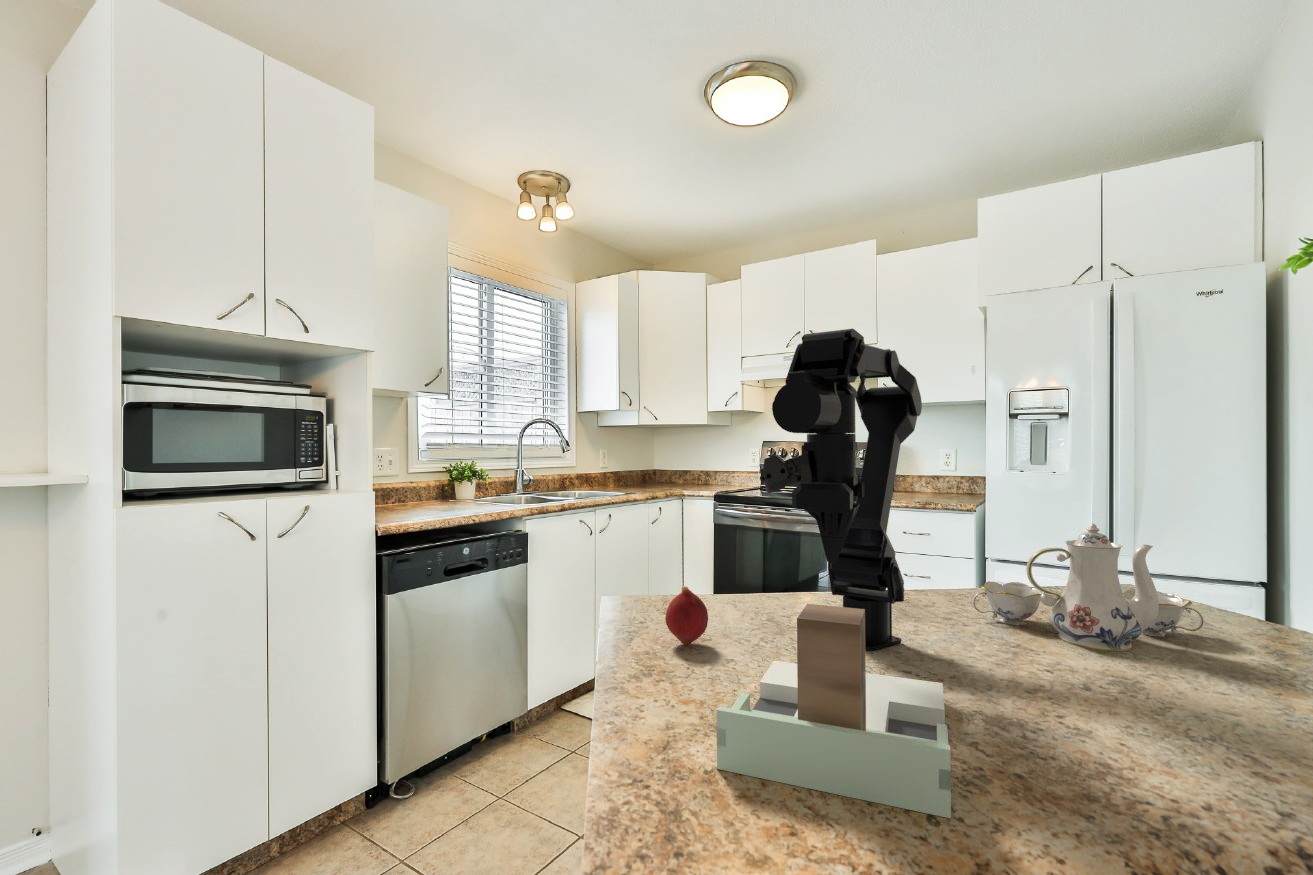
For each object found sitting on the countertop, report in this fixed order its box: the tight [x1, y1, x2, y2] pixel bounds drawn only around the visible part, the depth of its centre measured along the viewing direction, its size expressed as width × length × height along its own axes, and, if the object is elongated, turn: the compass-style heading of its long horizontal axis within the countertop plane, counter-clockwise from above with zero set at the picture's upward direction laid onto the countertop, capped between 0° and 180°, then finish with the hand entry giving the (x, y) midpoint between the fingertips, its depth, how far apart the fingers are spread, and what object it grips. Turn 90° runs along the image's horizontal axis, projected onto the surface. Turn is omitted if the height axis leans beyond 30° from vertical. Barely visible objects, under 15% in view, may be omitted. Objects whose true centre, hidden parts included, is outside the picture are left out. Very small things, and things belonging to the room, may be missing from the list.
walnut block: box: [796, 603, 867, 731], centre depth 53 cm, size 5×5×11 cm
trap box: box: [716, 660, 952, 819], centre depth 59 cm, size 22×18×5 cm
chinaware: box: [972, 523, 1205, 652], centre depth 89 cm, size 28×17×17 cm, turn 76°
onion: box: [664, 585, 709, 646], centre depth 85 cm, size 6×6×8 cm
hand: (832, 562), depth 76 cm, fingers closed
